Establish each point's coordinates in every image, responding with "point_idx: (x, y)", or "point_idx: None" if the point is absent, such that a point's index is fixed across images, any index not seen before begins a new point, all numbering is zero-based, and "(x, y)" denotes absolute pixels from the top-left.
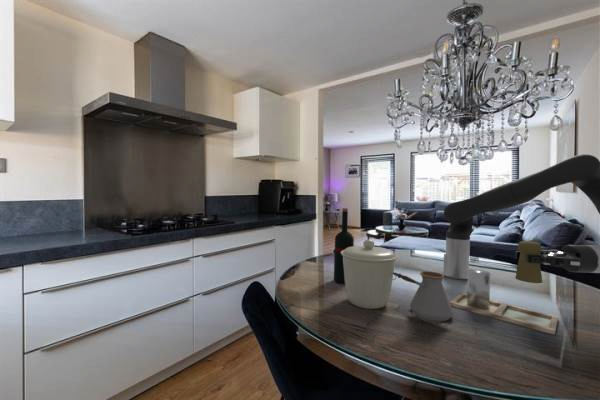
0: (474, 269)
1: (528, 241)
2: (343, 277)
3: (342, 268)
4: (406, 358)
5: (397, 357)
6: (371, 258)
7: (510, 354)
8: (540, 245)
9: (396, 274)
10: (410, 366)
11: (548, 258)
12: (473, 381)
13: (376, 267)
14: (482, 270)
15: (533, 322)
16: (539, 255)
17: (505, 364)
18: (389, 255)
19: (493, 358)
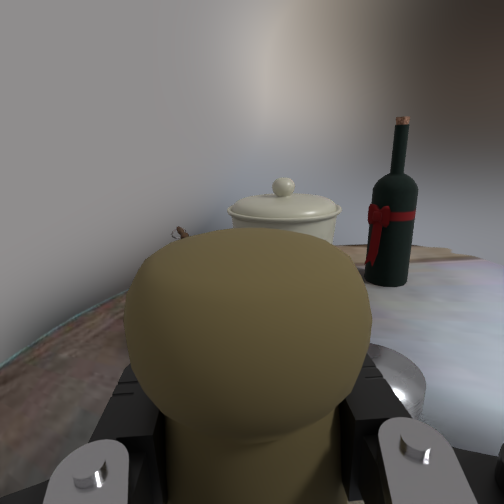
0: (408, 366)
1: (242, 233)
2: (367, 266)
3: (368, 248)
4: (95, 322)
5: (100, 316)
6: (232, 207)
7: (39, 465)
8: (154, 317)
9: (177, 230)
10: (76, 323)
11: (27, 494)
12: (9, 370)
13: (233, 225)
14: (414, 391)
15: None
16: (128, 409)
17: (15, 433)
18: (251, 209)
19: (44, 420)
